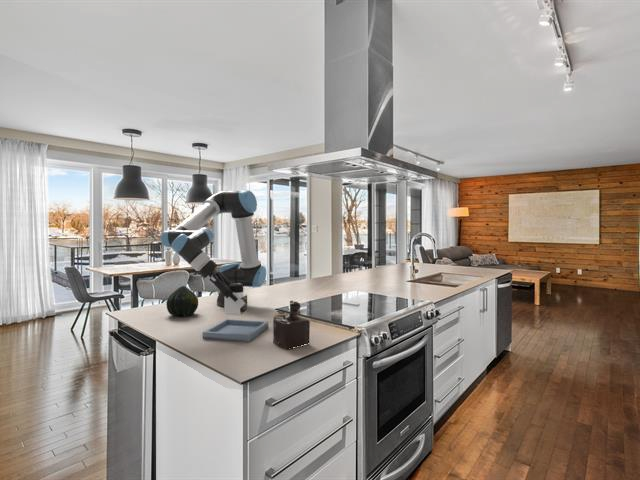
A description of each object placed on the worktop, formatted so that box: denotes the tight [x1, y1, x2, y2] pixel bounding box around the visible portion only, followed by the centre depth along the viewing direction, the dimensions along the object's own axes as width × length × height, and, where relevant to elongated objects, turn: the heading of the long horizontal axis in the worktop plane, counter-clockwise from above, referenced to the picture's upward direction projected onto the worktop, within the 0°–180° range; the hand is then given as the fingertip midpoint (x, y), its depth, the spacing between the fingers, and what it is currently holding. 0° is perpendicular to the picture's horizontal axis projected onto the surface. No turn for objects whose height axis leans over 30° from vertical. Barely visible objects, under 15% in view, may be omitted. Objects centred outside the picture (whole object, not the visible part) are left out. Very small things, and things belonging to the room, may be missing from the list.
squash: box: [165, 285, 199, 318], centre depth 183 cm, size 14×15×15 cm
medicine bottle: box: [223, 283, 248, 316], centre depth 151 cm, size 7×7×12 cm
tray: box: [202, 318, 269, 343], centre depth 152 cm, size 20×20×3 cm
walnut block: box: [272, 313, 288, 321], centre depth 162 cm, size 6×6×5 cm
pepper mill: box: [272, 300, 311, 350], centre depth 136 cm, size 16×11×18 cm
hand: (244, 303), depth 152 cm, fingers closed on medicine bottle, 9 cm apart
